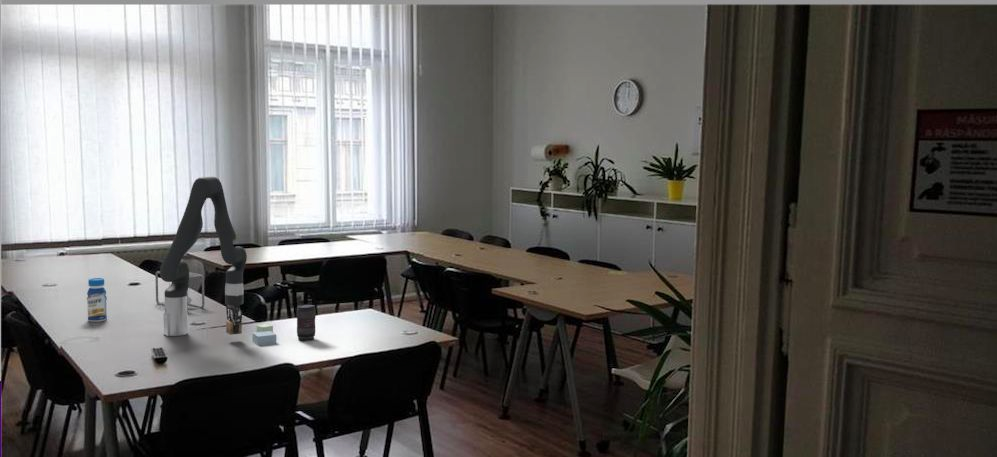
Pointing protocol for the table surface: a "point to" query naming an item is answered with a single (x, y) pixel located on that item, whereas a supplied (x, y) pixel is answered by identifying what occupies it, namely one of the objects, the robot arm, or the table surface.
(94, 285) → the beverage bottle
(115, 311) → the table surface
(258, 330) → the sage cube
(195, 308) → the newton's cradle
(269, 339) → the slate base block
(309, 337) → the camera lens
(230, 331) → the walnut cube
